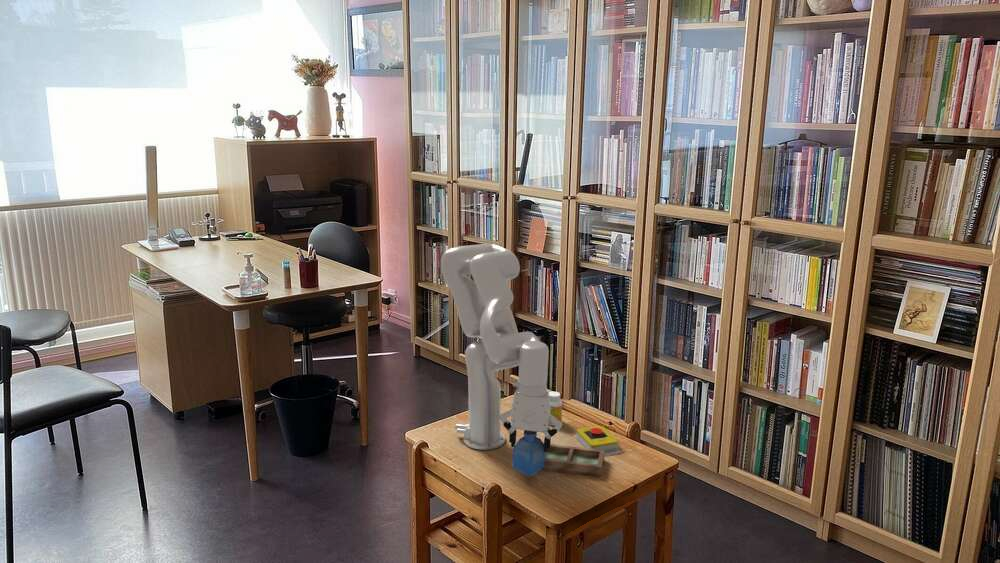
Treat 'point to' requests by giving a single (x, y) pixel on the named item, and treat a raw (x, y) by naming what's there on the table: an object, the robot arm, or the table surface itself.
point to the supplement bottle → (555, 406)
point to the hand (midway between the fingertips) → (529, 447)
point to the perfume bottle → (529, 454)
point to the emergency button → (598, 439)
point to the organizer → (574, 460)
